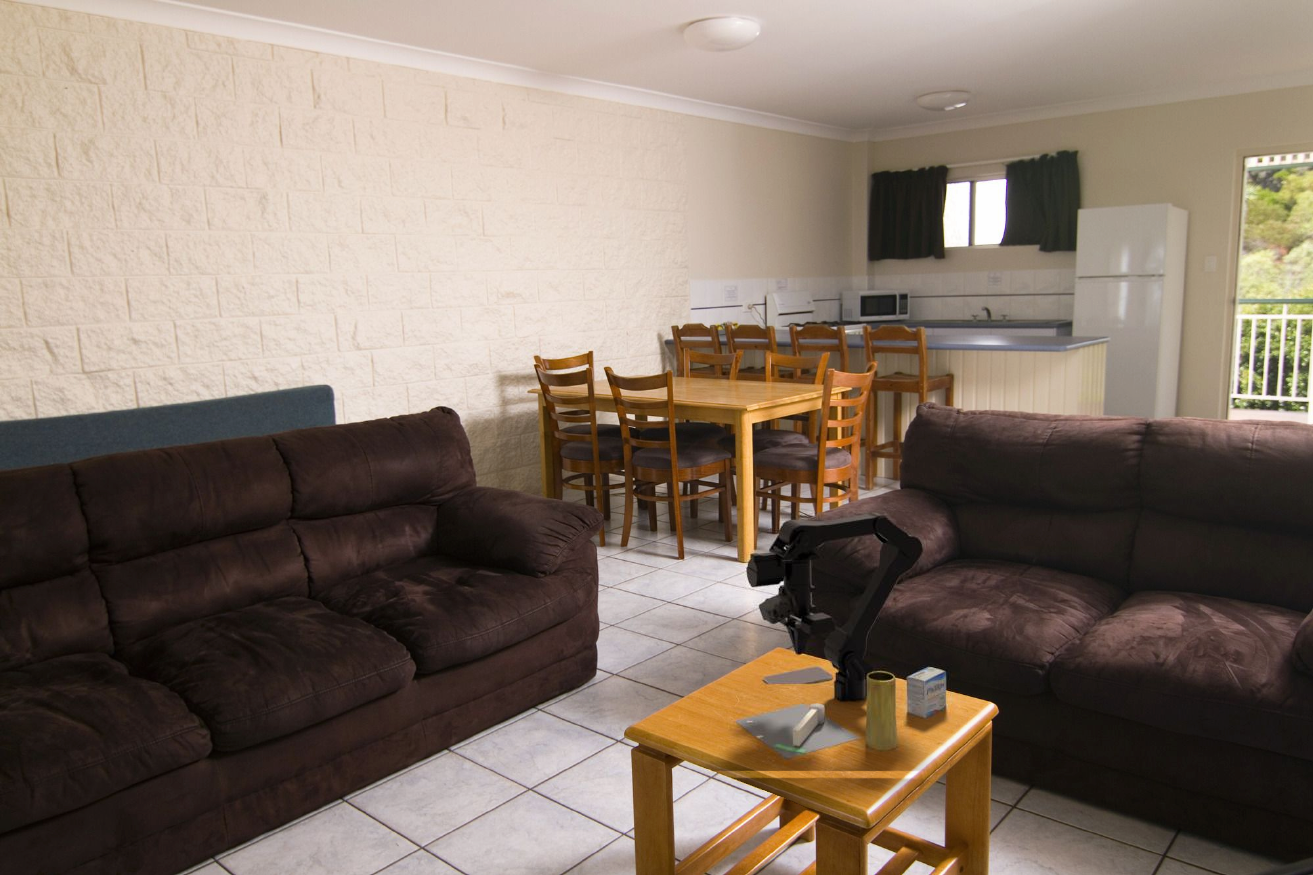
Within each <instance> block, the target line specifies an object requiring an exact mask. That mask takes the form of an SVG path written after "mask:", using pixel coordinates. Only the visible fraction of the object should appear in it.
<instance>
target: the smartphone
mask: <svg viewBox="0 0 1313 875" xmlns="http://www.w3.org/2000/svg"><path fill="white" fill-rule="evenodd" d="M833 679H834V676H833V674H832V673H830V672H829V671H827V670H826V669H824V668H822V666H818V665H817V666H811V667H804V668H801V669H796V670H795V669H794V670H791V671H786V672H781V673H777V674H772V675H771V674H770V675H767V676H763V678H762V681H763V682H764V683H766V684H768V685H811V684H816V683H821V682H827V681H831V680H833Z"/></svg>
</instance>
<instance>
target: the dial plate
mask: <svg viewBox="0 0 1313 875" xmlns="http://www.w3.org/2000/svg"><path fill="white" fill-rule="evenodd" d="M809 706H810V705H807V704H806V703H800V704H797V705H792V706H788V707H784V708H781V709H777V710H773V711H768V712H762V713H760V714H756V715H752V716H748V717H743V718H741V719H740V718H739V719H736V720H734V722H735V723H736V724H738V725H739V726H741V727H742V728H743V729H744V730H746V731H747V732H749V733H750V734H752V735H753V736H754V737H756V738H757V739H759V740H760V741H761V742H762V743H763V744H765V745H767V747H770V748H771V749H772V750H773V751H775V752H776V753H778V754H779V755H780V756H781V757H783V758H784V759H786V760H787V759H790V758H795V757H797V756H798V757H799V756H802V755H805V754H810V753H813V752H816V751H820V750H825V749H827V748H831V747H834V746H838V745H841V744H845V743H849V742H853V741H855V740H860V739H861V737H859V736H858V735H856V734H855V733H854V732H852V731H850V730H848V729H847V728H845V727H843V726H842V725H840V724H838V723H837V722H835V721H834V720H832V719H831V718H829V717H826V716H825V722H824V723H822V724H817V726H816V727H815V728H814V729H813V730H812V732H811V733H810V734H809V735H808V736H807V738H806V739H805V740H804V741H803V742H802V743H801V745H800V746H796V745H793V729H794V728H795V727H796V726H797V725H798V724H799V723H800V721H801V720H802V719H803V718H804V717H805V716H806V715H807V713H808V712H809Z"/></svg>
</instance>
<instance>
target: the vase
mask: <svg viewBox="0 0 1313 875" xmlns="http://www.w3.org/2000/svg"><path fill="white" fill-rule="evenodd" d="M896 690H897V689H896V676H895V675H894V674H893V673H891V672H889V671H883V670H876V671H875V670H873V672H870V673H868V674H867V697H866V719H865V720H866V722H865V744H866V745H867V746H868V747H869V748H870V749H874V750H877V751H889V750H890V751H893V749H897V746H898V745H899V744H898V732H897V730H898V729H897V728H898V727H897V718H896V711H897V709H896V708H897V707H896V706H897V704H896V702H897V701H896V697H897V696H896V694H897V693H896Z"/></svg>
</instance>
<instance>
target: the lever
mask: <svg viewBox="0 0 1313 875" xmlns="http://www.w3.org/2000/svg"><path fill="white" fill-rule="evenodd" d="M808 706H809V712H808V713H807V715H806V716H805V717H804V718H803V719H802V720H801V721H800V723H799V724H798V725H797V726H796V727H795V728H794V729H793V745H796V746H800V745H801V743H802V742H803V741H804V740H805V739H806V738H807V736H808V735H809V734H810V733H811V732H812V730H813V729H814V728H815V727H816V726H817V724H822V723H824V722H825V717H826V714H825V710H826V709H825V705H824V704H821V703H811V704H809V705H808Z"/></svg>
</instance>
